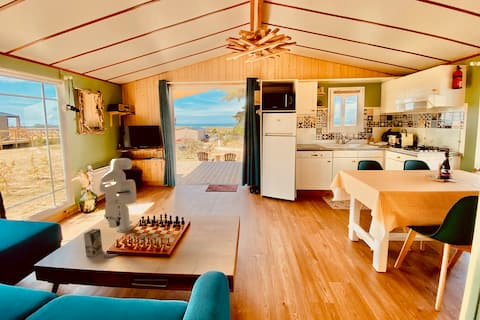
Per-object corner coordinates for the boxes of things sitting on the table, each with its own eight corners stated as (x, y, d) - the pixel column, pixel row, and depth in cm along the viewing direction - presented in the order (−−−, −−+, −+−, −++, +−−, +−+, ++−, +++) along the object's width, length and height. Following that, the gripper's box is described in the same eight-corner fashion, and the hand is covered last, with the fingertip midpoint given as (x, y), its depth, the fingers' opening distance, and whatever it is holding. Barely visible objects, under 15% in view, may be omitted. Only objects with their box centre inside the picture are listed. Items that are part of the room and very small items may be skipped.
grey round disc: (109, 251, 194) (109, 251, 194) (121, 252, 192) (120, 251, 192) (101, 258, 185) (101, 257, 185) (113, 258, 184) (113, 257, 183)
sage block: (113, 224, 200) (112, 216, 199) (120, 224, 199) (119, 217, 198) (109, 227, 195) (108, 219, 194) (116, 227, 194) (115, 219, 193)
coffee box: (94, 256, 188) (91, 234, 185) (85, 256, 189) (83, 233, 187) (103, 250, 196) (100, 229, 194) (95, 249, 198) (92, 228, 195)
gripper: (126, 200, 196) (128, 224, 199) (104, 199, 199) (107, 223, 202) (120, 203, 189) (122, 228, 192) (97, 203, 191) (100, 227, 195)
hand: (114, 225), depth 197 cm, fingers closed on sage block, 5 cm apart
